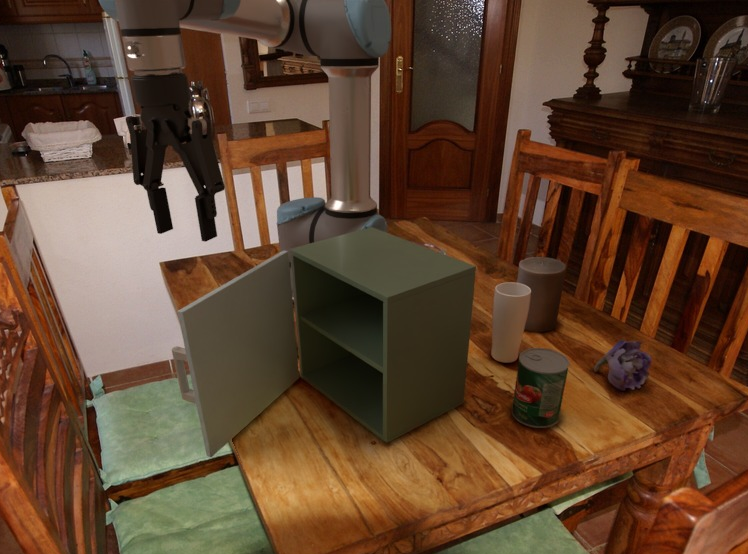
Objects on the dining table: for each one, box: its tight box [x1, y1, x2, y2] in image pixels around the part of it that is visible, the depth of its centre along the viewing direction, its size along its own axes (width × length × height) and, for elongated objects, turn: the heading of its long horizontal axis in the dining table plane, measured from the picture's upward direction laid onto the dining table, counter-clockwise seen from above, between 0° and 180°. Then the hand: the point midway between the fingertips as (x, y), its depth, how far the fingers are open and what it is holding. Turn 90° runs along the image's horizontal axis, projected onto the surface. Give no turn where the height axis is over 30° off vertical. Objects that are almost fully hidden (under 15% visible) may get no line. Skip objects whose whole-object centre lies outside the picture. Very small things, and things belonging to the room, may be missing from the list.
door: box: [171, 250, 300, 458], centre depth 96 cm, size 6×26×26 cm, turn 152°
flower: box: [593, 339, 652, 391], centre depth 105 cm, size 9×9×10 cm
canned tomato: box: [511, 347, 570, 429], centre depth 96 cm, size 8×8×11 cm
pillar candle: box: [516, 256, 567, 333], centre depth 125 cm, size 10×10×15 cm
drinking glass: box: [490, 281, 531, 364], centre depth 112 cm, size 7×7×15 cm
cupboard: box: [290, 227, 477, 444], centre depth 100 cm, size 18×26×26 cm
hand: (187, 234), depth 89 cm, fingers open, 8 cm apart
